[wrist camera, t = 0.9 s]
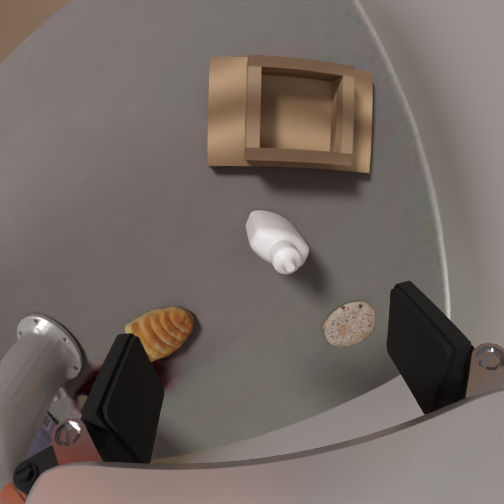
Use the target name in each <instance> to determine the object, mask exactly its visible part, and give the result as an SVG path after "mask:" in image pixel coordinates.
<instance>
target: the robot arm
mask: <svg viewBox="0 0 504 504" xmlns="http://www.w3.org/2000/svg"><path fill="white" fill-rule="evenodd" d="M17 338H18V340H17V341H16V342H15V344H14V345H13V346H12V347H11V349H10V350H9V351H8V352H7V354H6V355H5V356H4V357H3V359H2V360H1V361H0V504H504V349H503V348H502V347H501V346H499V345H496V344H492V343H485V344H480V345H479V346H477V347H476V348H474V347H473V346H472V345H471V342H470V341H469V340H468V339H467V338H466V337H465V335H463V333H462V332H461V331H460V330H459V329H458V328H457V327H456V326H455V325H454V324H453V323H452V322H451V321H450V320H449V319H448V318H447V317H446V316H445V315H444V313H443V312H442V311H441V310H440V309H439V308H438V307H437V306H436V305H435V304H434V303H433V302H432V301H431V300H430V299H428V298H427V297H426V296H425V295H424V294H423V293H422V292H421V291H420V290H419V289H418V288H417V287H416V286H415V285H414V284H413V283H412V282H411V281H406V282H402V283H398V284H396V285H395V286H394V289H392V290H391V293H390V310H389V324H388V336H387V351H388V354H389V356H390V357H391V359H392V360H393V362H394V364H395V365H396V367H397V369H398V370H399V372H400V374H401V375H402V377H403V379H404V380H405V382H406V384H407V385H408V387H409V389H410V390H411V392H412V394H413V396H414V397H415V399H416V401H417V402H418V404H419V406H420V408H421V409H422V411H423V413H424V414H425V415H424V416H421V417H418V418H416V419H413V420H411V421H408V422H405V423H402V424H399V425H397V426H394V427H391V428H388V429H385V430H382V431H379V432H376V433H373V434H369V435H366V436H363V437H359V438H356V439H352V440H349V441H345V442H341V443H337V444H333V445H329V446H324V447H320V448H315V449H311V450H306V451H301V452H296V453H290V454H284V455H278V456H272V457H265V458H257V459H249V460H240V461H229V462H217V463H197V464H149V463H150V461H151V456H152V450H153V445H154V440H155V435H156V430H157V426H158V421H159V416H160V411H161V407H162V402H163V398H164V388H163V385H162V383H161V381H160V379H159V378H158V376H157V374H156V372H155V370H154V368H153V366H152V363H151V361H150V359H149V357H148V355H147V353H146V351H145V349H144V347H143V344H142V342H141V340H140V338H139V337H138V336H135V335H134V334H133V333H127V334H119V335H118V336H117V337H116V339H115V341H114V343H113V345H112V347H111V349H110V351H109V353H108V355H107V357H106V359H105V361H104V363H103V365H102V367H101V369H100V371H99V374H98V376H97V378H96V380H95V382H94V384H93V386H92V389H91V391H90V393H89V395H88V397H87V400H86V402H85V404H84V406H83V409H82V411H81V414H82V417H81V419H78V418H68V419H65V420H63V421H61V422H60V423H58V424H57V425H56V426H55V428H54V429H53V431H52V434H51V442H52V445H51V446H49V447H47V448H45V449H44V450H42V451H40V452H39V453H37V454H35V455H33V456H32V457H30V458H28V459H26V458H27V455H28V453H29V450H30V448H31V446H32V443H33V441H34V439H35V437H36V435H37V433H38V430H39V428H40V426H41V424H42V422H43V420H44V418H45V416H46V414H47V412H48V410H49V408H50V406H51V404H52V402H53V401H57V400H59V399H60V394H61V396H62V397H63V398H65V397H67V396H68V392H67V390H66V388H65V387H64V386H65V384H66V382H67V380H70V379H73V378H75V377H76V376H77V375H78V374H79V372H80V370H81V368H82V362H83V360H82V354H81V352H80V349H79V347H78V345H77V343H76V341H75V340H74V339H73V337H72V336H71V335H70V334H69V332H68V331H67V330H66V329H65V328H64V327H62V326H61V325H60V324H59V323H57V322H56V321H54V320H52V319H51V318H49V317H46V316H43V315H39V314H31V315H28V316H26V317H25V318H23V319H22V321H21V322H20V323H19V325H18V328H17ZM58 391H59V392H60V394H59V392H58Z"/></svg>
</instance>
